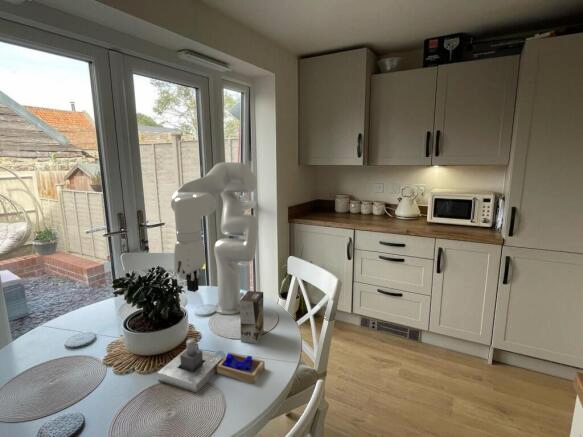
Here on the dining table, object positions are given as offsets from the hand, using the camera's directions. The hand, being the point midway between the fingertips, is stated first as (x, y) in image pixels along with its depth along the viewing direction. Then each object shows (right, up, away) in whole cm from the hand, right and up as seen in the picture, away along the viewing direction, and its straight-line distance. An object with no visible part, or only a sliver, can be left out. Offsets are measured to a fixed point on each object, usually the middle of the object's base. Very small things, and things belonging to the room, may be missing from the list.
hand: (193, 290), depth 104 cm
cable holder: (+15, -25, -2) cm, 29 cm away
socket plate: (+1, -24, -4) cm, 25 cm away
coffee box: (+17, -21, +16) cm, 32 cm away
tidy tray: (+16, -25, -3) cm, 30 cm away
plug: (+1, -24, -4) cm, 25 cm away
